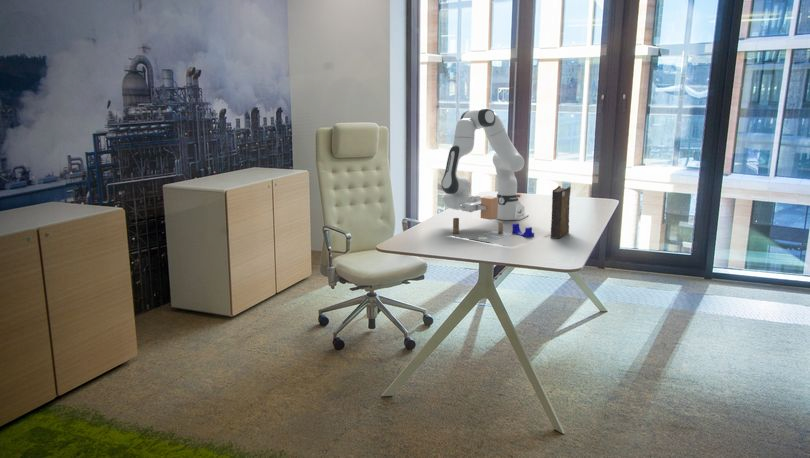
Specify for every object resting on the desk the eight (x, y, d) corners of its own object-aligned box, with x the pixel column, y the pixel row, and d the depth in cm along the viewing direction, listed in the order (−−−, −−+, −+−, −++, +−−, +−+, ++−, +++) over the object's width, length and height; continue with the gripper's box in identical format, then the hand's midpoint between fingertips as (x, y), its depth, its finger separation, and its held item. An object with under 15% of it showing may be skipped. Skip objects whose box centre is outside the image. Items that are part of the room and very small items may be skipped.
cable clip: (533, 238, 328) (534, 227, 326) (527, 239, 325) (527, 228, 324) (518, 234, 338) (519, 223, 336) (512, 235, 336) (512, 223, 334)
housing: (487, 216, 343) (488, 196, 341) (497, 218, 339) (498, 197, 337) (480, 218, 338) (481, 197, 336) (490, 219, 334) (491, 198, 332)
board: (494, 232, 341) (494, 219, 340) (513, 235, 333) (513, 222, 332) (469, 239, 325) (469, 226, 324) (488, 243, 318) (489, 229, 316)
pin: (455, 234, 337) (455, 217, 335) (459, 235, 335) (460, 218, 333) (451, 235, 335) (452, 218, 333) (456, 236, 333) (456, 219, 331)
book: (558, 239, 325) (561, 190, 320) (545, 237, 329) (547, 189, 324) (570, 233, 339) (572, 186, 333) (557, 231, 343) (559, 185, 337)
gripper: (457, 200, 338) (479, 203, 329) (480, 195, 352) (501, 198, 343) (457, 212, 339) (479, 215, 330) (480, 207, 354) (501, 210, 345)
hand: (490, 207), depth 337 cm, fingers closed on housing, 6 cm apart
